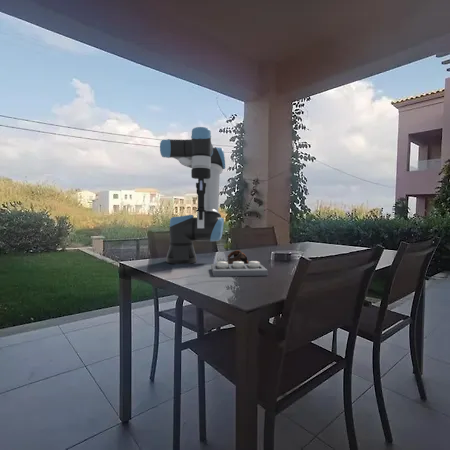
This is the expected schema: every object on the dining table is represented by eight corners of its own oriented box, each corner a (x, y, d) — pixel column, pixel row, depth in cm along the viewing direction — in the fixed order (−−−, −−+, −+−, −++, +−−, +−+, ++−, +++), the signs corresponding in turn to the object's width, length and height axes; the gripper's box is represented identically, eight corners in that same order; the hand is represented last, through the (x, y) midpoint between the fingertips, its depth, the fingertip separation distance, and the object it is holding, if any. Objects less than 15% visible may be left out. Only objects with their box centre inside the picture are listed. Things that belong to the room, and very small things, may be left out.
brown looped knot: (251, 268, 140) (244, 253, 138) (233, 276, 141) (226, 262, 138) (247, 257, 152) (240, 243, 149) (230, 265, 152) (223, 252, 149)
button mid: (232, 266, 125) (232, 261, 125) (242, 266, 125) (242, 261, 125) (233, 268, 121) (233, 263, 120) (244, 268, 121) (244, 263, 121)
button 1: (216, 267, 124) (216, 261, 124) (227, 266, 125) (227, 261, 125) (217, 269, 120) (217, 263, 120) (228, 269, 120) (228, 263, 120)
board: (211, 271, 129) (211, 264, 129) (259, 271, 131) (259, 263, 131) (213, 279, 115) (213, 270, 115) (267, 278, 117) (267, 270, 117)
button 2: (247, 266, 126) (247, 261, 125) (258, 266, 126) (258, 261, 126) (249, 268, 121) (249, 263, 121) (260, 268, 122) (260, 262, 122)
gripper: (191, 170, 125) (191, 227, 126) (191, 165, 112) (190, 229, 113) (209, 170, 126) (209, 227, 127) (211, 166, 113) (210, 229, 114)
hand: (200, 228), depth 120 cm, fingers closed
